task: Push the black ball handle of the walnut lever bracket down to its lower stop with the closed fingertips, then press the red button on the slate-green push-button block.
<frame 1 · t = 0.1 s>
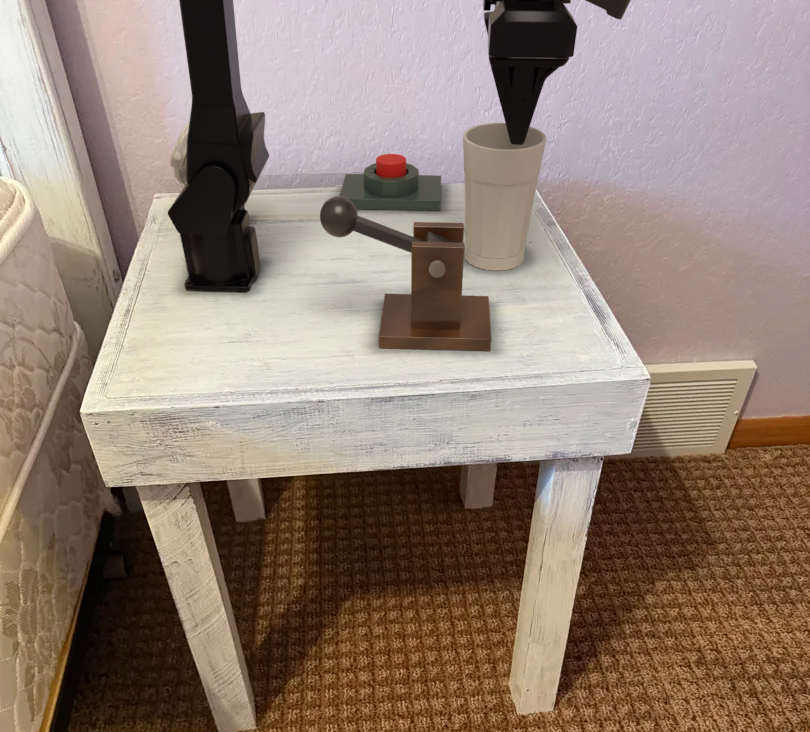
hand: (514, 126, 67), 15 cm above the table, tool pointing down, fingers open, 9 cm apart
watch: (220, 229, 87), on the table
button: (391, 166, 91), point 3 cm above the table, slide at 0.1 cm
button block: (391, 196, 93), on the table
lever: (388, 235, 65), point 9 cm above the table, hinge at 20.0°
bracket: (435, 327, 71), on the table
cup: (493, 258, 82), on the table
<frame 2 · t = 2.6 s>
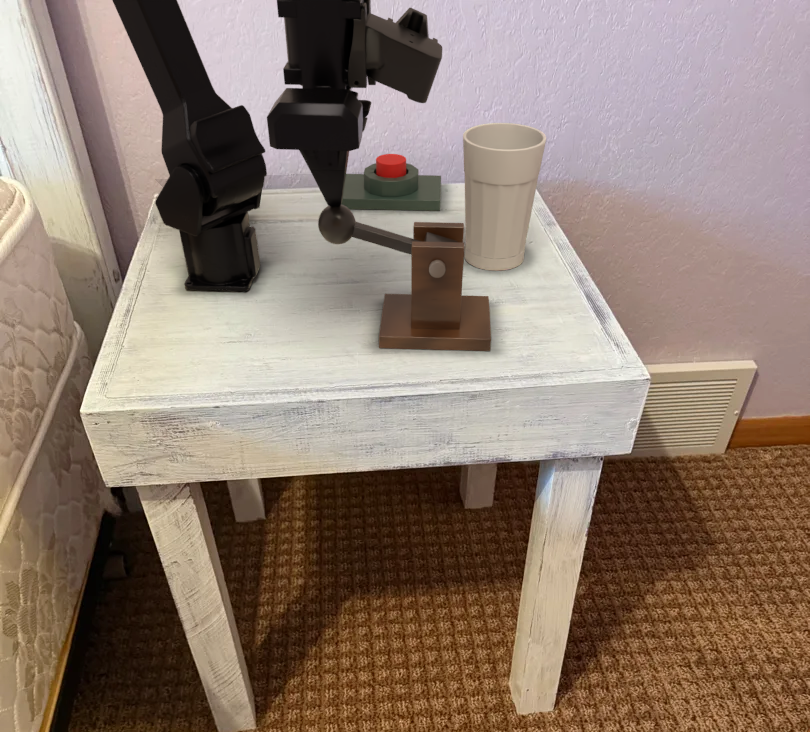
hand: (335, 204, 64), 11 cm above the table, tool pointing down, fingers closed
lever: (386, 239, 66), point 8 cm above the table, hinge at 15.8°, touching gripper
everything else where it was.
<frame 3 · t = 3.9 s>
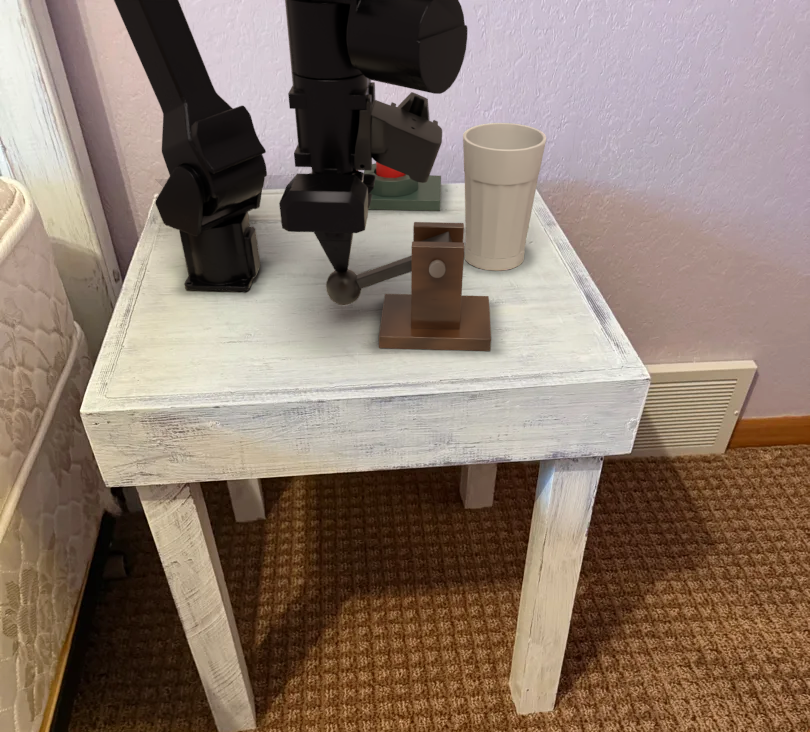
hand: (341, 270, 68), 5 cm above the table, tool pointing down, fingers closed, pressing on lever
lever: (388, 271, 68), point 5 cm above the table, hinge at -21.0°, touching gripper
everything else where it was.
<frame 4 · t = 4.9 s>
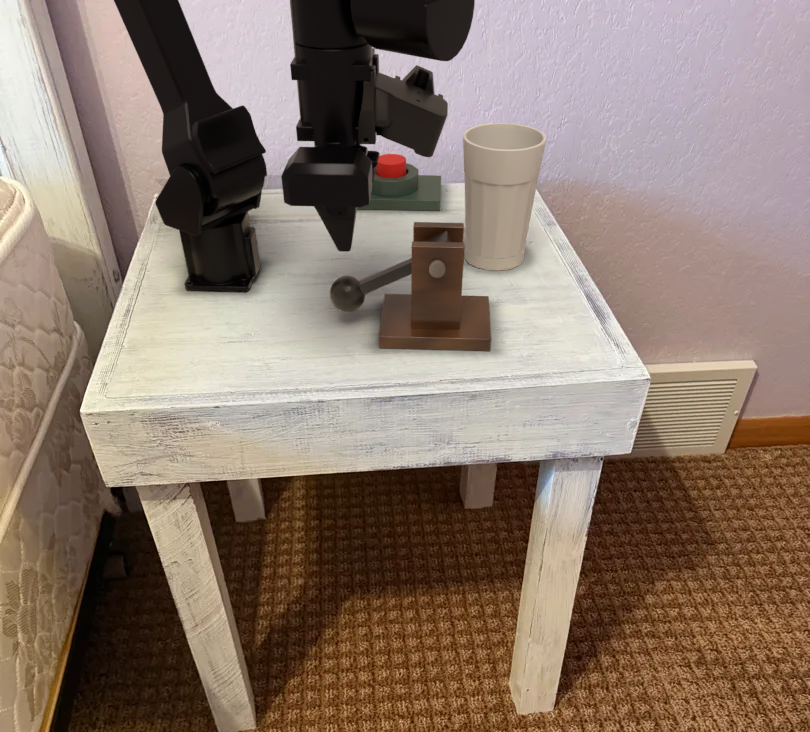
hand: (344, 249, 66), 7 cm above the table, tool pointing down, fingers closed
lever: (390, 275, 68), point 5 cm above the table, hinge at -25.6°
everything else where it was.
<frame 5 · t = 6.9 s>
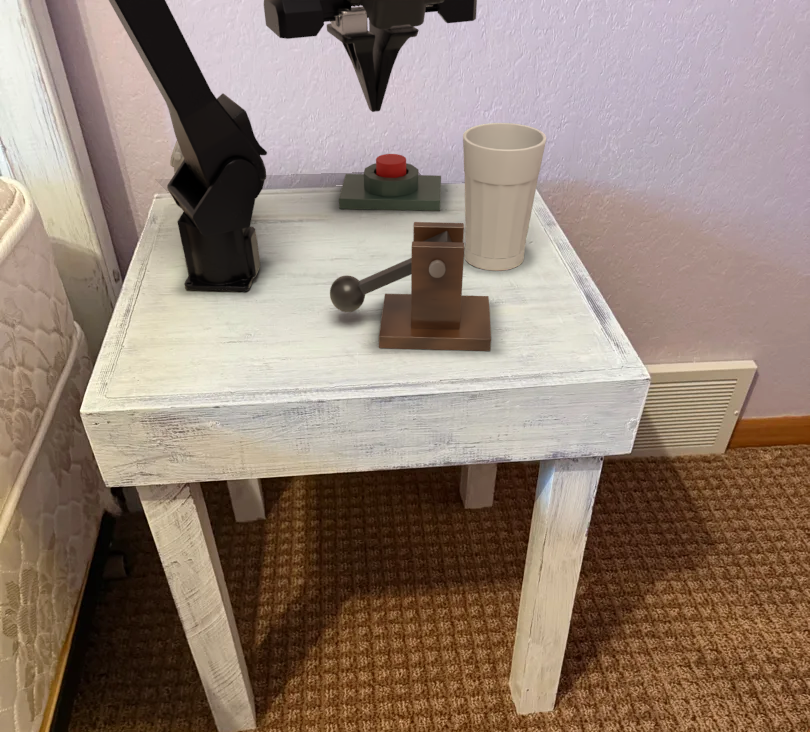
hand: (374, 110, 75), 13 cm above the table, tool pointing down, fingers closed
nothing on the table moved.
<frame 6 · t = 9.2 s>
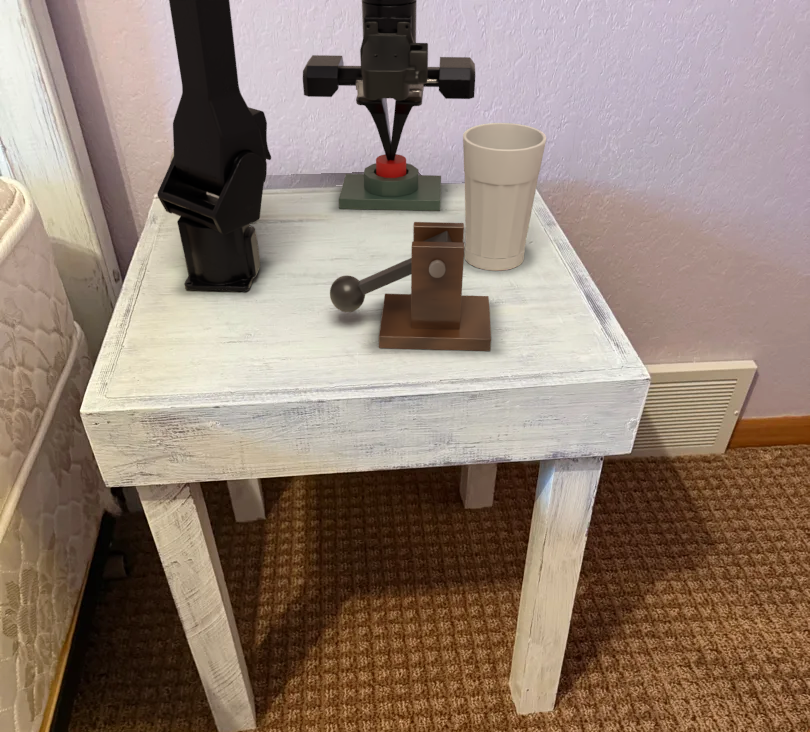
hand: (390, 159, 90), 4 cm above the table, tool pointing down, fingers closed, pressing on button
button: (391, 166, 91), point 3 cm above the table, slide at 0.1 cm, touching gripper
everything else where it was.
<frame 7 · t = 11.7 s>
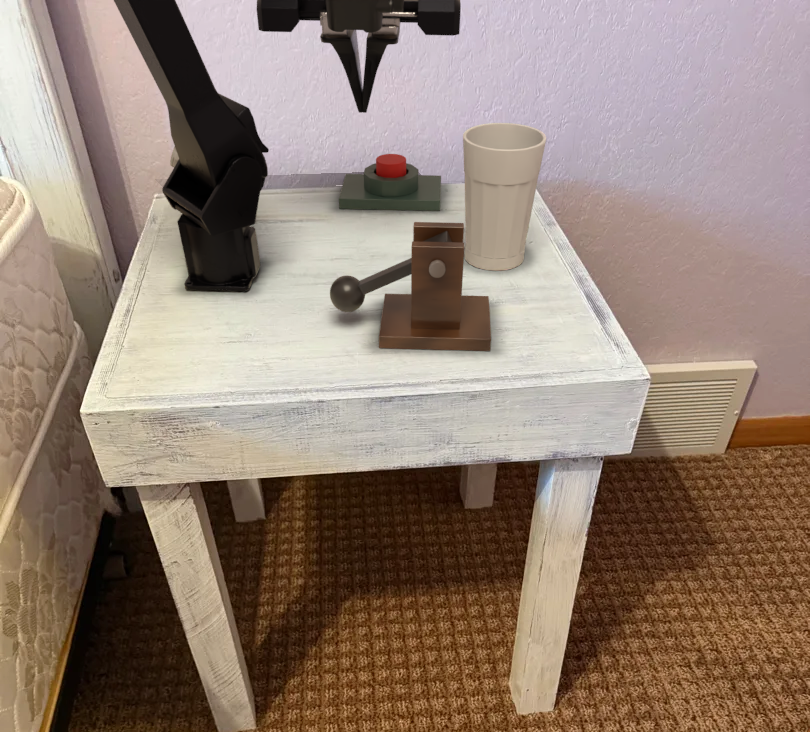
hand: (362, 111, 78), 12 cm above the table, tool pointing down, fingers closed
button: (391, 166, 91), point 3 cm above the table, slide at 0.1 cm
everything else where it was.
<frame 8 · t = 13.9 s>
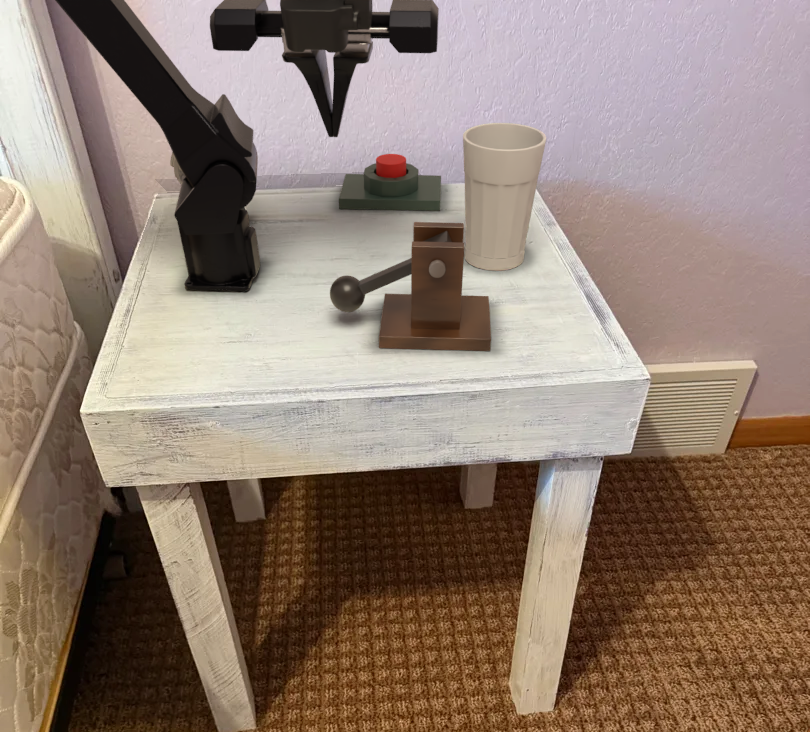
hand: (333, 135, 70), 13 cm above the table, tool pointing down, fingers closed
nothing on the table moved.
at the end: lever at -26° (first picture: +20°); button pushed in 1.1 cm at the most during the clip, back to where it started at the end; button slide at 0.1 cm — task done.
